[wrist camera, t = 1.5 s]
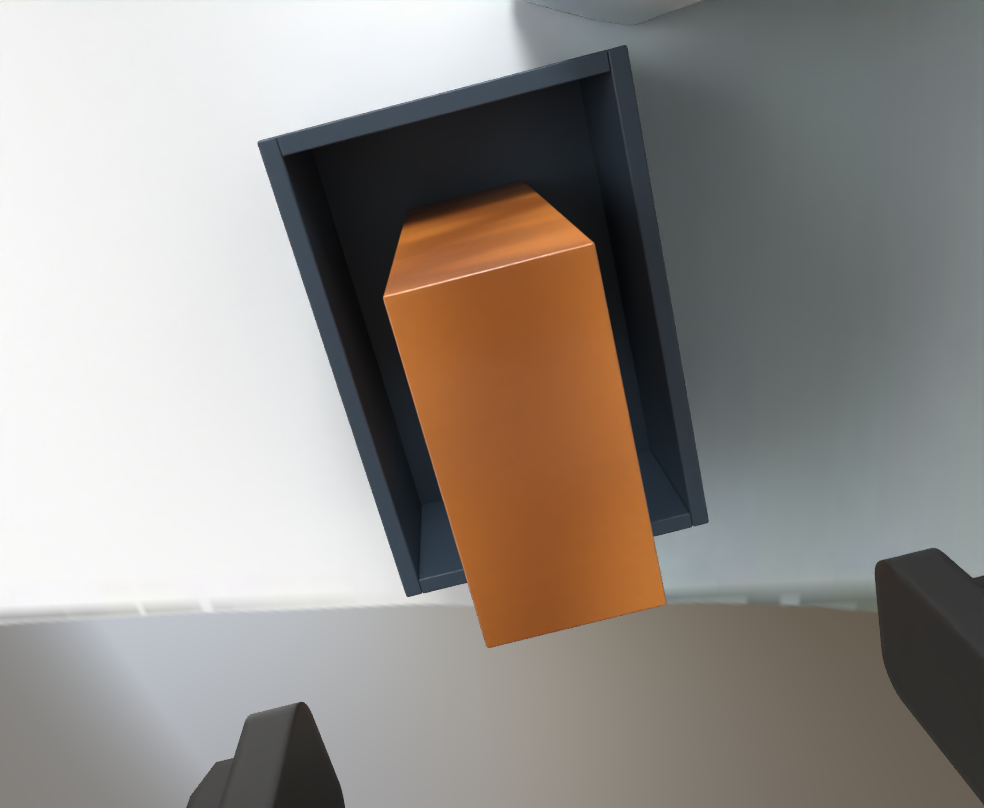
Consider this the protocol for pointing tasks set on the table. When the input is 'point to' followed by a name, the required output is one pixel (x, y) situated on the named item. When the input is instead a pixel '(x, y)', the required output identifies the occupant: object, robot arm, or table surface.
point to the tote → (460, 171)
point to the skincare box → (616, 9)
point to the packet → (523, 411)
